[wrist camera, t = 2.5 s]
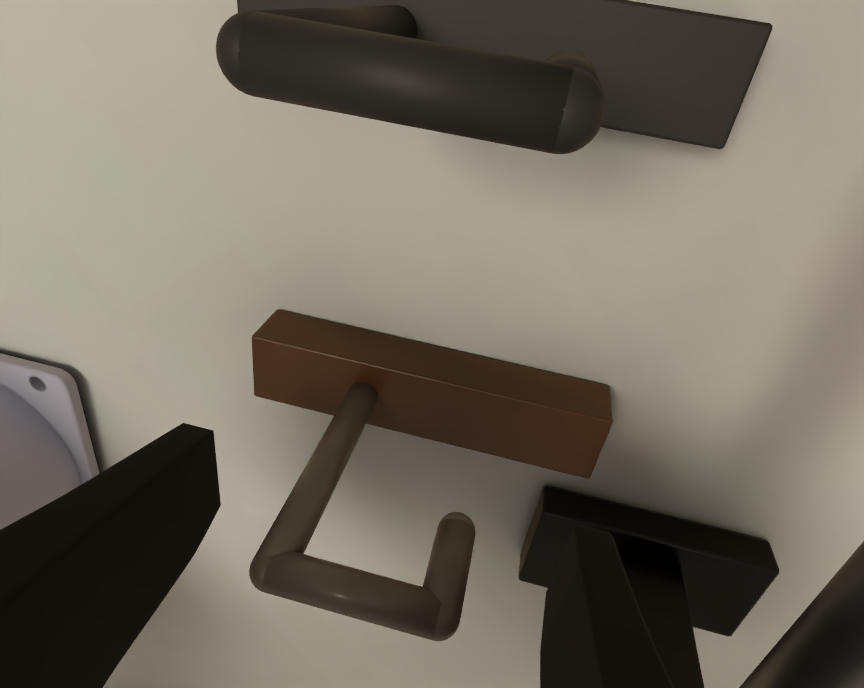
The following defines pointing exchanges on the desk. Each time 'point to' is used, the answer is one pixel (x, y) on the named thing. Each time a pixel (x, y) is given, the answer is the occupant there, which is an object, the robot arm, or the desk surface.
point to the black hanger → (501, 66)
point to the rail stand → (708, 590)
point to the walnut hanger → (416, 415)
